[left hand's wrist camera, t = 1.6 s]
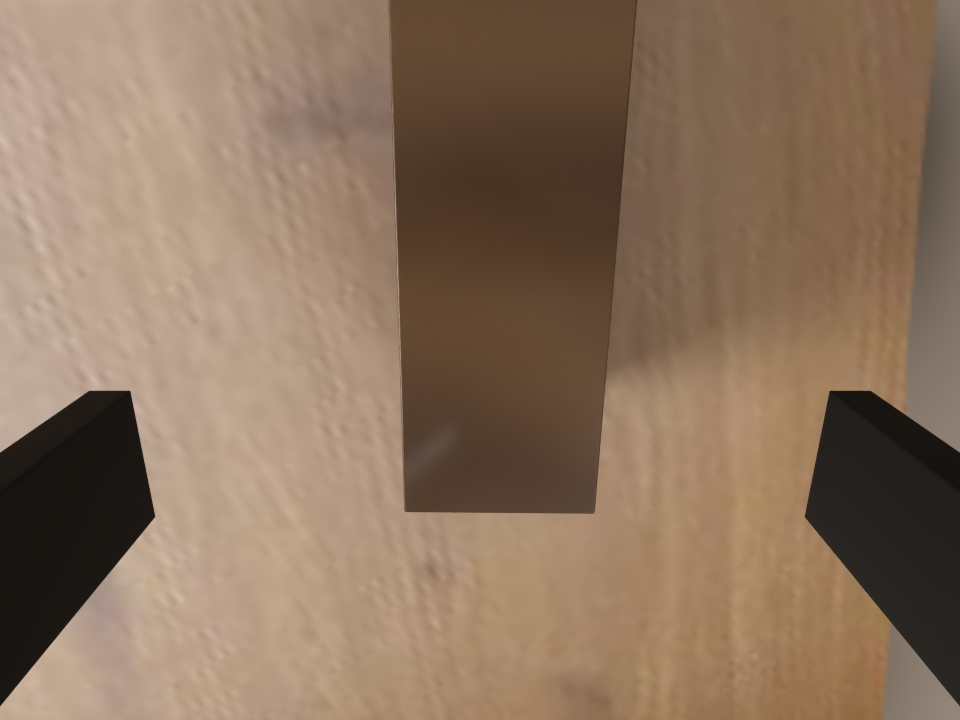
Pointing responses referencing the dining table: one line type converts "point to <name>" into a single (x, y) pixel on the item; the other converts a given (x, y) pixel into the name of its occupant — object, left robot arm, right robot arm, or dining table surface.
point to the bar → (506, 244)
